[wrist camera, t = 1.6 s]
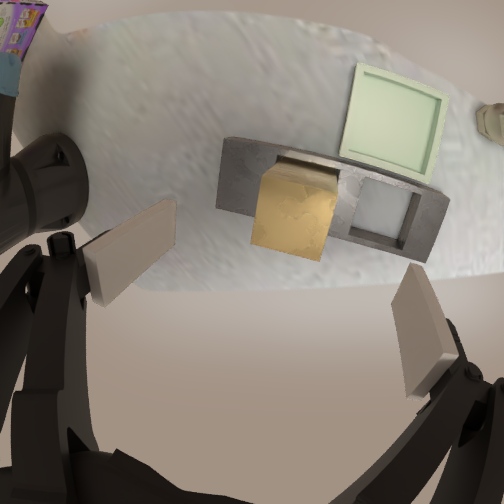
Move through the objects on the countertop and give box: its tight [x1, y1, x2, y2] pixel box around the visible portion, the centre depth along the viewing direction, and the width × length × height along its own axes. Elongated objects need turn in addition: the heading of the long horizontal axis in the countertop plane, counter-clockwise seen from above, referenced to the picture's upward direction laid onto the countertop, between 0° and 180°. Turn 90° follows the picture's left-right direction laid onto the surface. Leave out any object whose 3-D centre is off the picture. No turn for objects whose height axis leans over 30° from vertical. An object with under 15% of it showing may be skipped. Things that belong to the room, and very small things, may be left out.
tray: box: [338, 62, 449, 185], centre depth 21 cm, size 9×9×2 cm
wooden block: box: [251, 156, 338, 261], centre depth 23 cm, size 5×5×10 cm
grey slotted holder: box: [216, 137, 450, 263], centre depth 26 cm, size 22×7×2 cm, turn 81°
